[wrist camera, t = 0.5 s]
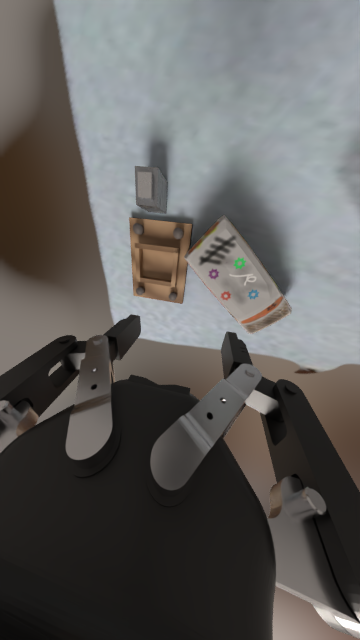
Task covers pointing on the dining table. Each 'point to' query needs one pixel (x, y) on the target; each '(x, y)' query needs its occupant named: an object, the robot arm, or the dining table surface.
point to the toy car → (237, 277)
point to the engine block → (151, 189)
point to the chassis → (159, 258)
